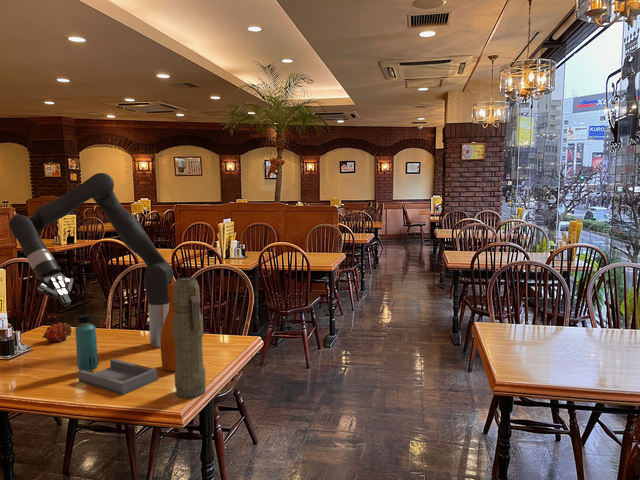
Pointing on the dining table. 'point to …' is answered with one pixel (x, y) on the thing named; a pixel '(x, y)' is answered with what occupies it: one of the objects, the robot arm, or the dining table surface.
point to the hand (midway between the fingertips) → (67, 304)
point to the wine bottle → (168, 336)
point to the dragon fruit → (57, 332)
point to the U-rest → (119, 377)
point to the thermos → (188, 339)
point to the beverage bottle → (86, 344)
